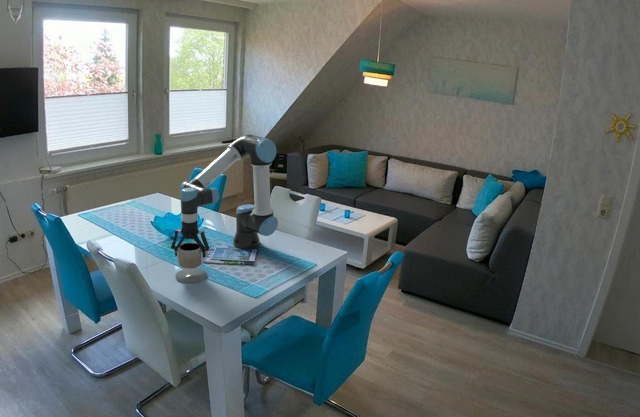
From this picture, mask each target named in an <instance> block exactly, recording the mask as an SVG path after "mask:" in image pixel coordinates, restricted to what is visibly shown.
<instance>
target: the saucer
mask: <svg viewBox="0 0 640 417" xmlns="http://www.w3.org/2000/svg"><path fill="white" fill-rule="evenodd" d="M174 277H175V280H176V281H177V282H180V283H182V284H197V283H200V282H203V281H205V279H207V278H208V273H207V271H206V270H204V269H203V268H199V267H197V268H192V269H187V268H183V269H180V270H178V271H177V272H176V273H175V276H174Z"/></svg>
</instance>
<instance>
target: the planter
mask: <svg viewBox="0 0 640 417" xmlns="http://www.w3.org/2000/svg"><path fill="white" fill-rule="evenodd" d="M178 249H179V263H178V266H180V267H181V268H183V269H192V268H199V267H200V266H201V265H202V264H201V251H202V250H201V249H200V247H199V246H198V244H197V243H196V242H195V241H194V242H193V241H192V242H184V243H183V242H182V243H181V245H180V246H179V248H178Z"/></svg>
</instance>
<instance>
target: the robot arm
mask: <svg viewBox="0 0 640 417" xmlns="http://www.w3.org/2000/svg"><path fill="white" fill-rule="evenodd" d="M276 156H277V147H276V144H275V143H274V142H273V140H271V139H268V138H266V137H263V136H262V137H261V136H257V135H255V134H246V135H242V136H239V137H238V138H236V139H235V140H233V142H231V143H230V144H229V145H227V147H226V150H225V151H223V153H221V154H220V155H218V157H217V158H215V159H214V160H213V161H212V162H211V163H210V164H209V165H207V166H206V167H205V168H204V169H203V170H201V172H199V173H198V174H197V175H196V176H195V177H194V178H193V179H191V180H190V181H183V182H182V183H181V184H180V186H179V193H180V198H179V199H180V211H181V212H180V216H181V218H180V219H181V229H178V228H177V229H175V231H174V236H173V241H172V243H171V246H170V249H171V250H174V256H175V257H176V261H177V262H176V263H177V264H179V246H180V245H181V244H183V242H184V240H185V239H186V240H193V241H194V242H195V243H197V244H198V246H199V247H200V249H201V250H202V251H201V265H203V264H204V262H205V261H204V260H205V258H206V256H207V252H208V251H209V250H210V246H209V243H208V239H207V237H206V235H205V234H206V233H205V230H199V221H198V218H199V216H198V210H199V209H198V208H200V207H204V206H208V205H209V206H210V205H213V204H215V203H218V202H219V200H220V192H219V191H218V189H217V188H215V187H209V186H210V185H211V184H212V183H213V182H214V181H216V179H218V178H219V177H220V176H221V175H222V174H223V173H224V172H226V171H227V170H228V169H229V168H230V167H231V166H232V165H233V164H234V163H236V162H237V161H241V160H242V159H243V158H247V157H248V158H249V164H250V166H252V174H253V177H252V178H253V196H254V197H253V198H254V204H251V203H250V204H249V203H247V204H243V205H239V206H237V208H236V213H235V216H236V217H235V218H236V219H235V223H236V225H235V227H236V228H235V230H236V231H235V235H234V237H233V240H232V242H233V243H232V245H233V246H234V247H236V248H238V249H242V250H245V249H246V250H248V248H250V249H254V248H257V247H259V246H260V240H261V239H260V237H259V235H260V236H265V237H269V236H271V235H273V234H274V233H275V232H276V230H277V228H278V226H279V219H278V218H277V217H276V216H275V215H274V209H273V208H271V178H270V177H271V176H270V166H272V164H273V161H274V160H275V158H276ZM208 187H209V188H208ZM180 234H181V235H182V237H181V239H180V240H179V242H178V243H177V240H178V237H179V235H180ZM198 235H199V236H200V238H201V239H200V238H199V236H198ZM201 240H202V241H201ZM176 243H177V244H176Z"/></svg>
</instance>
